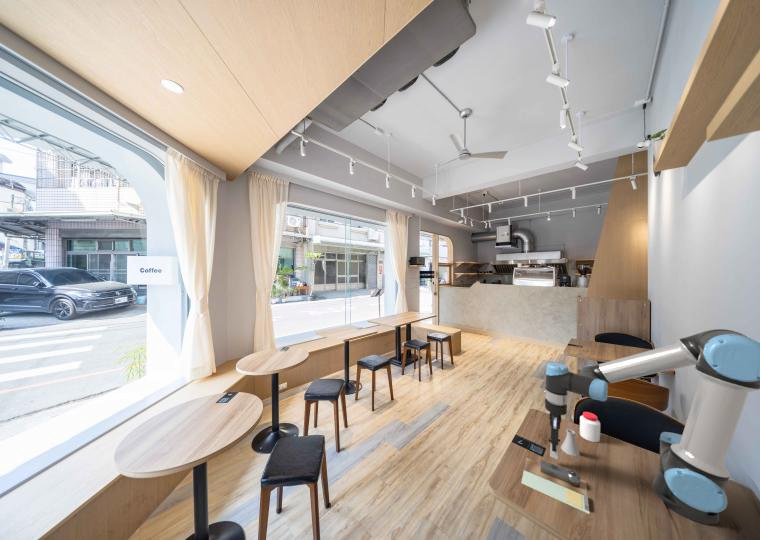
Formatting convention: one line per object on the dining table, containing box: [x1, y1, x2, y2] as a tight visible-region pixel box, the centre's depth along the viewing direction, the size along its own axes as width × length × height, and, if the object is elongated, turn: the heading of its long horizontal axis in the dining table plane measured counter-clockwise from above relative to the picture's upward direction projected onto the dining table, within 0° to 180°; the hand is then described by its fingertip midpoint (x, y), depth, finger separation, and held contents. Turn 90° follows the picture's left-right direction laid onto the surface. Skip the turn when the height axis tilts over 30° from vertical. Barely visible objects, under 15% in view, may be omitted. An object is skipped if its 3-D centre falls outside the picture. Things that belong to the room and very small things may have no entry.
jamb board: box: [523, 457, 589, 497], centre depth 99 cm, size 20×8×1 cm, turn 54°
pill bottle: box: [579, 411, 601, 443], centre depth 124 cm, size 8×8×11 cm
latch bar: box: [540, 459, 581, 487], centre depth 98 cm, size 12×4×4 cm, turn 54°
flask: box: [560, 428, 581, 457], centre depth 113 cm, size 7×7×10 cm
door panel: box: [521, 469, 591, 515], centre depth 93 cm, size 20×8×3 cm, turn 54°
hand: (553, 456), depth 105 cm, fingers closed
